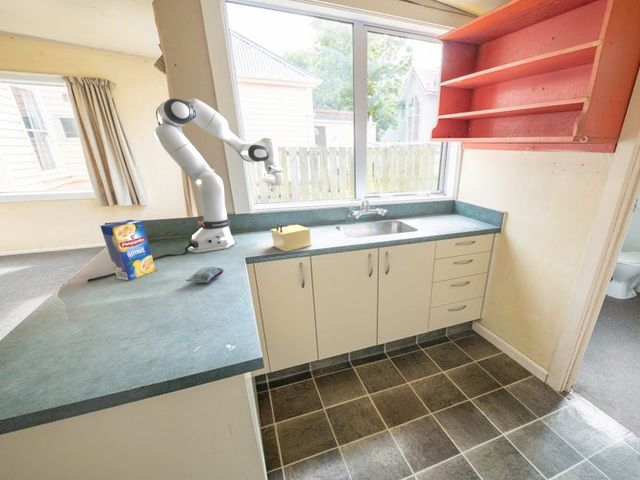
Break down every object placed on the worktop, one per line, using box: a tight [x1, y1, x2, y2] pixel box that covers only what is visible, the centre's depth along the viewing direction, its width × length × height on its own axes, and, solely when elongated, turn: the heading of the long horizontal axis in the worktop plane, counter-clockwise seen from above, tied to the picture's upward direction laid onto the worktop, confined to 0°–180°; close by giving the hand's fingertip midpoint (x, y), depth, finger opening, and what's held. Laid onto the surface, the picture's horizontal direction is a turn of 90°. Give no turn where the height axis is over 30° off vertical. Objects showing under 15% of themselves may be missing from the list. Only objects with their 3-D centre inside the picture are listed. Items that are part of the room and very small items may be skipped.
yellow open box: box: [271, 230, 312, 252], centre depth 162 cm, size 16×13×9 cm
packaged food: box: [185, 266, 224, 284], centre depth 119 cm, size 9×12×5 cm
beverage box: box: [100, 219, 157, 281], centre depth 121 cm, size 7×11×22 cm, turn 164°
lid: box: [270, 222, 311, 236], centre depth 160 cm, size 16×13×5 cm
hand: (273, 191), depth 180 cm, fingers closed
